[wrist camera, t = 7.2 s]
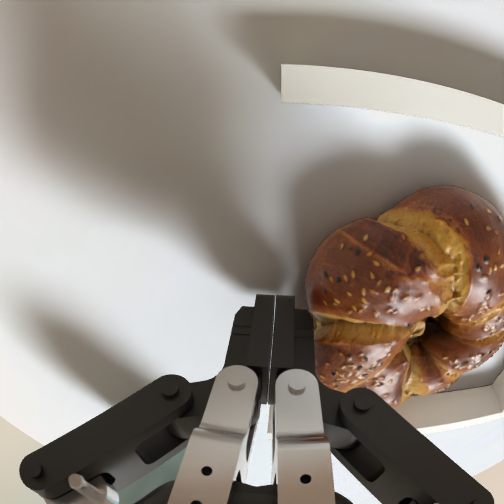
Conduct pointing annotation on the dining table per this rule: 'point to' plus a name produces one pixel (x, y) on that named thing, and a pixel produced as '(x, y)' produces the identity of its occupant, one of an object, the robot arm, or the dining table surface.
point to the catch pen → (430, 107)
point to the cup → (152, 480)
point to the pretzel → (409, 295)
